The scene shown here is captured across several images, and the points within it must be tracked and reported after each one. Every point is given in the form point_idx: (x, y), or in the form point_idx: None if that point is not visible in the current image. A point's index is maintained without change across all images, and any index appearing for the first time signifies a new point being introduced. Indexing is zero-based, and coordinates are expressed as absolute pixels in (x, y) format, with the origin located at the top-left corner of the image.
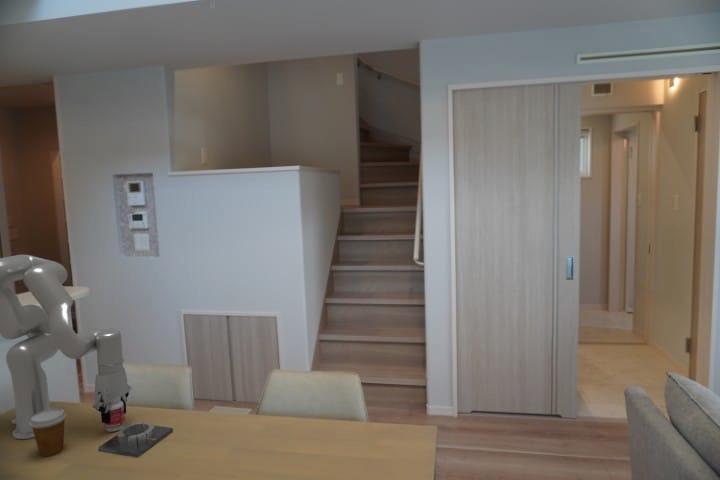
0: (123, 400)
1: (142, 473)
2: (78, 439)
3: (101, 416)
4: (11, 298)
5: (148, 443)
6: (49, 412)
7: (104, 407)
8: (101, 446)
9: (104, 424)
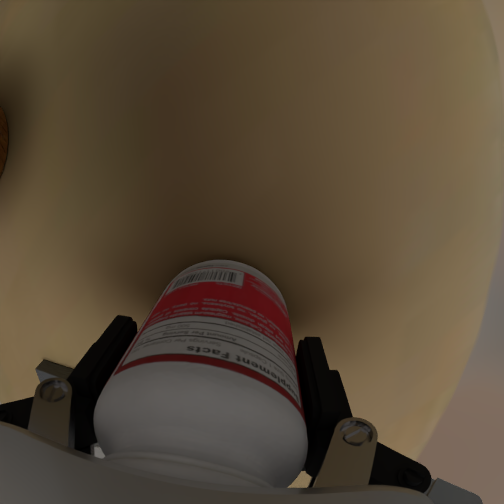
0: (309, 484)
1: None
2: (63, 176)
3: (79, 363)
4: None
5: None
6: None
7: (93, 419)
8: (43, 379)
9: (163, 293)
